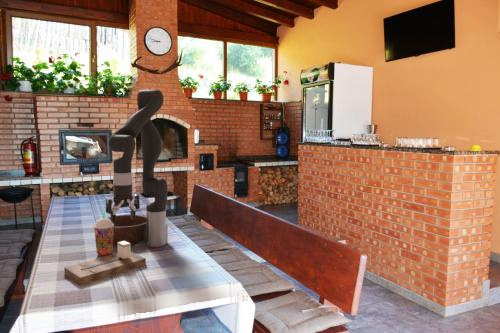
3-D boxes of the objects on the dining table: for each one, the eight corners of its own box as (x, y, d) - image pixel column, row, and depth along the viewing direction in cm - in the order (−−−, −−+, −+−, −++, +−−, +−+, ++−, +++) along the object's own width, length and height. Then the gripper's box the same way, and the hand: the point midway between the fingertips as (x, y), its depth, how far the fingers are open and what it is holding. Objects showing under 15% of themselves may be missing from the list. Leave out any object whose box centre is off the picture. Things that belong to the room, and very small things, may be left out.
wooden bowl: (136, 250, 184) (135, 229, 183) (88, 245, 189) (88, 225, 188) (158, 234, 208) (158, 216, 207) (116, 231, 213) (115, 212, 212)
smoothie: (93, 258, 172) (92, 214, 169) (95, 252, 180) (94, 209, 177) (113, 257, 174) (112, 213, 171) (115, 250, 182) (114, 209, 179)
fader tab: (124, 254, 168) (124, 240, 167) (131, 257, 165) (130, 243, 164) (117, 255, 166) (117, 242, 165) (123, 259, 162) (123, 245, 161)
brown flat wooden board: (128, 256, 175) (128, 249, 174) (145, 265, 165) (145, 257, 165) (64, 274, 154) (64, 266, 154) (80, 285, 145) (80, 276, 144)
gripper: (133, 180, 169) (133, 216, 171) (102, 183, 158) (102, 222, 160) (142, 182, 164) (143, 220, 166) (111, 186, 153) (112, 226, 155)
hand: (123, 221), depth 163 cm, fingers open, 8 cm apart
